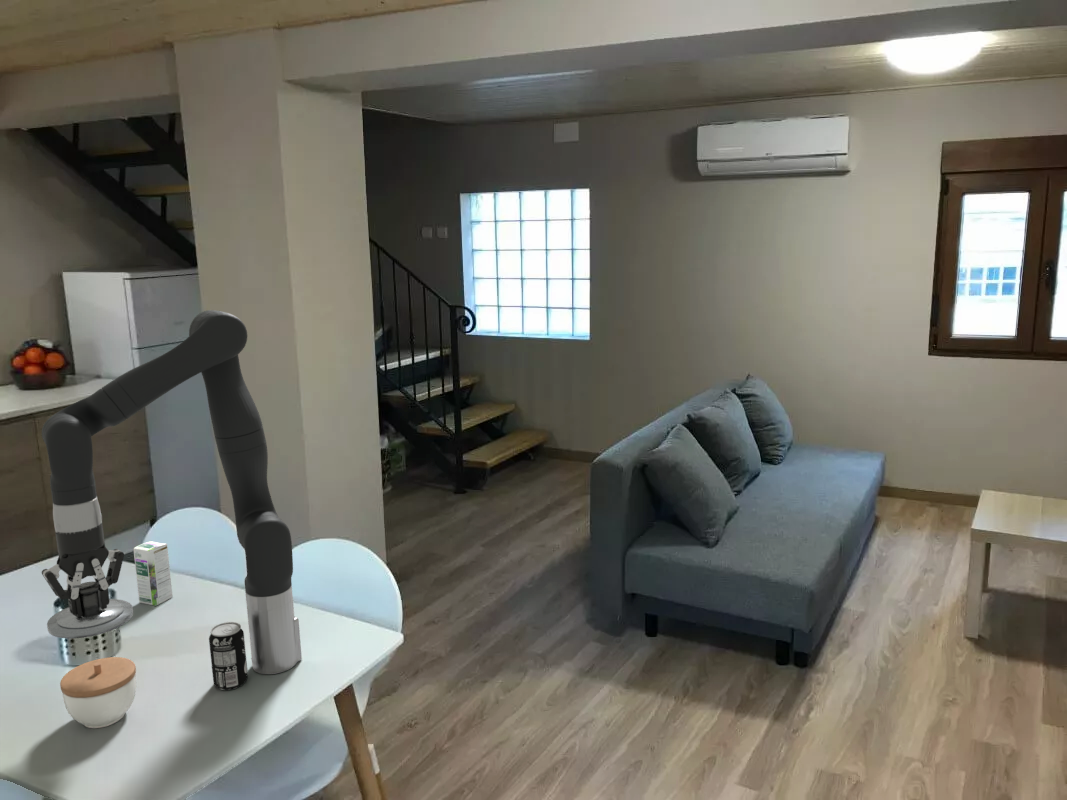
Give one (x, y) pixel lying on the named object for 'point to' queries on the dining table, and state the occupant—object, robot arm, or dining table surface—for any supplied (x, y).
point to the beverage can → (228, 656)
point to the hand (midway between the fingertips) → (90, 611)
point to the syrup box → (153, 573)
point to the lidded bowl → (99, 691)
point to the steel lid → (90, 615)
